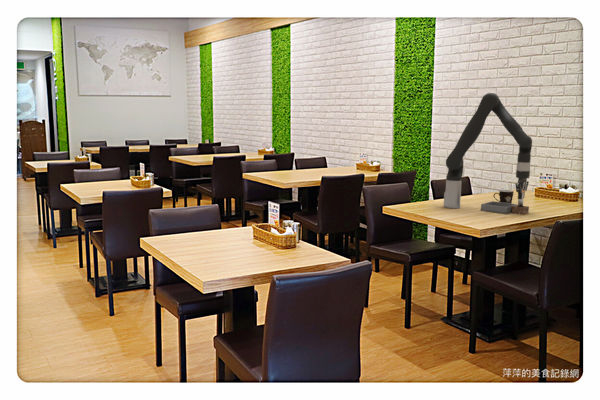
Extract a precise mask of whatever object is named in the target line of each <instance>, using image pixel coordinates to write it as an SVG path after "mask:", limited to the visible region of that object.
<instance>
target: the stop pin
mask: <svg viewBox="0 0 600 400" xmlns="http://www.w3.org/2000/svg"><path fill="white" fill-rule="evenodd" d="M517 199H518V198H517ZM524 199H525V195H524V190H523V191H522V199H518V201H517V202H518V203H517V205H518V207H523V206H524Z"/></svg>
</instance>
